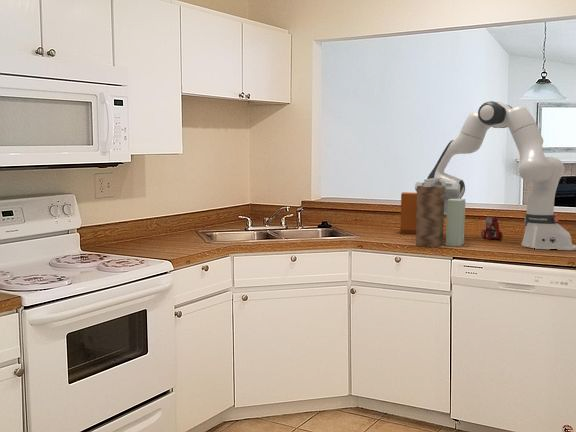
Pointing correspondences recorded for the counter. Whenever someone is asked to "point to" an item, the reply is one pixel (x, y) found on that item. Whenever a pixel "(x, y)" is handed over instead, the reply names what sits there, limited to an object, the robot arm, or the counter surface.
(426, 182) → the aluminium bar
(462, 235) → the green block
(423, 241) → the walnut box
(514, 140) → the robot arm
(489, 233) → the toy fire truck
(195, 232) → the counter surface
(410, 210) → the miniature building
